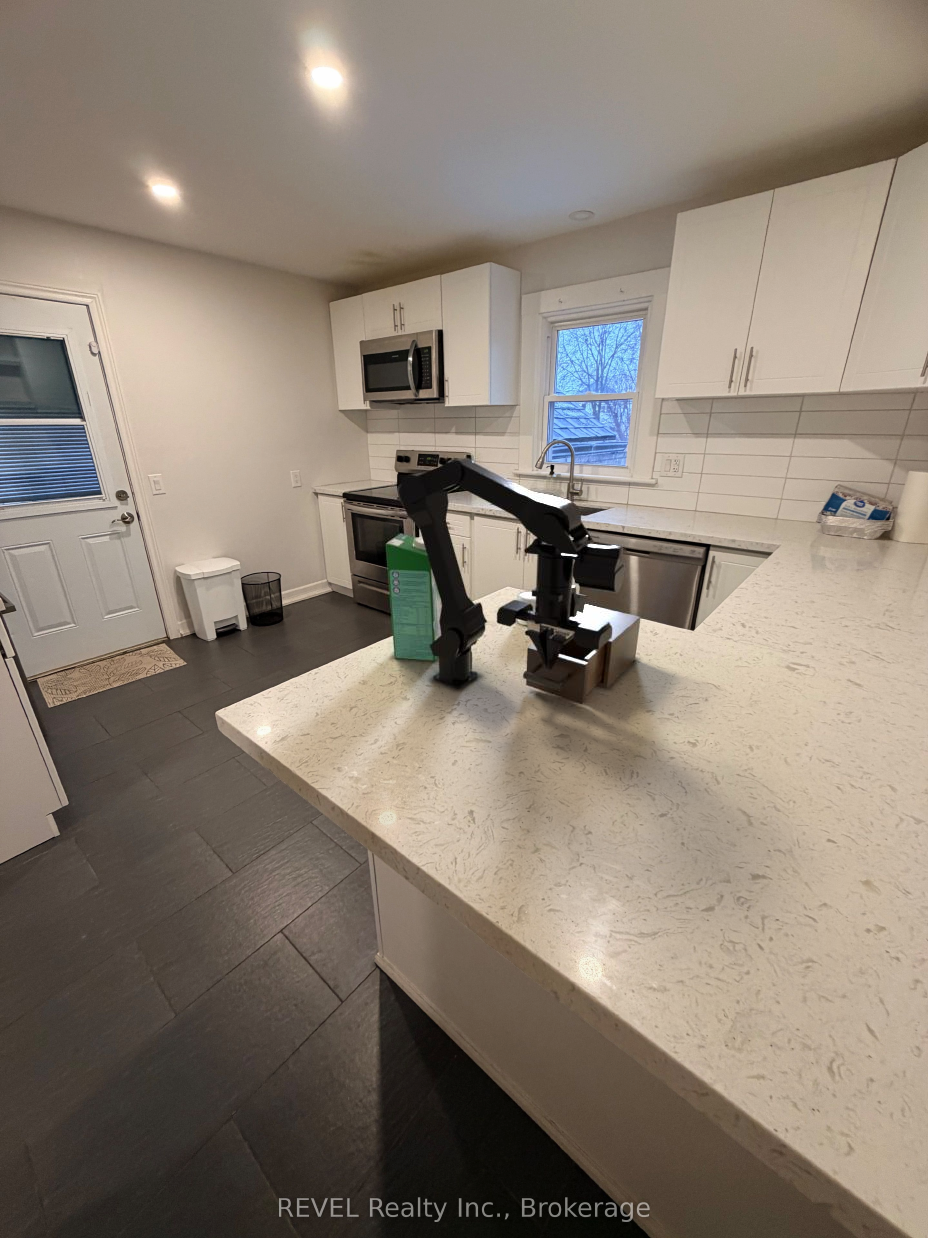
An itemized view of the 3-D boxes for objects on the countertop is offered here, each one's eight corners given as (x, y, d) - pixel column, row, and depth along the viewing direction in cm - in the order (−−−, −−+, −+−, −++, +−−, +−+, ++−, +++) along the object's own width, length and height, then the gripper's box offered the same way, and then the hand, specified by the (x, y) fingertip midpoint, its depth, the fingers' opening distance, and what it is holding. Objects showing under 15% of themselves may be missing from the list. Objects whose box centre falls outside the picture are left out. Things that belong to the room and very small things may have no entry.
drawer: (569, 718, 82) (572, 676, 79) (511, 696, 89) (512, 657, 86) (613, 674, 95) (617, 637, 92) (560, 658, 102) (562, 623, 99)
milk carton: (435, 661, 104) (430, 544, 94) (394, 657, 105) (385, 542, 96) (445, 643, 112) (441, 533, 102) (407, 640, 113) (399, 532, 104)
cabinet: (606, 688, 92) (612, 641, 89) (547, 669, 100) (549, 625, 96) (635, 659, 103) (640, 616, 99) (579, 643, 110) (582, 603, 106)
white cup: (542, 616, 125) (544, 590, 123) (544, 627, 119) (545, 599, 116) (515, 615, 126) (516, 589, 123) (515, 626, 120) (516, 599, 117)
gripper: (630, 579, 79) (620, 665, 85) (529, 561, 90) (527, 639, 96) (601, 599, 71) (592, 692, 77) (495, 576, 82) (494, 660, 88)
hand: (549, 668), depth 85 cm, fingers closed
